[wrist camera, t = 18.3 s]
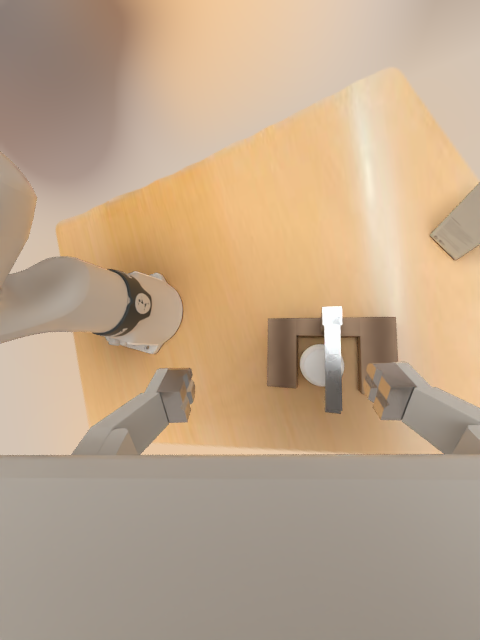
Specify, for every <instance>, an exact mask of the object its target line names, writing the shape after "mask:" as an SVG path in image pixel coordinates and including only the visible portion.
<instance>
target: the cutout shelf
mask: <svg viewBox="0 0 480 640" xmlns="http://www.w3.org/2000/svg"><path fill="white" fill-rule="evenodd" d="M320 320H321V318H279V319H268V369H267V386H273V387H285V388H297V386H298V336H324V333H321V327H320ZM340 336H341V337H357V347H358V379H359V391H360V392H361V393H362V394H365V392H364V388H363V382H364V378H365V377H366V376H367V375H368V373H367V371H366V369H367V366H368V364H369V363H392V362H398V351H397V332H396V317H358V318H342V325H341V326H340Z"/></svg>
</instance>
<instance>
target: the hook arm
mask: <svg viewBox="0 0 480 640" xmlns="http://www.w3.org/2000/svg"><path fill="white" fill-rule="evenodd" d="M341 325H342V307H322V313H321V320H320V327H321V333H324V354H325V412H330V413H339V414H341V411H342V379H341V336H340V326H341Z"/></svg>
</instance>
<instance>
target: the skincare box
mask: <svg viewBox="0 0 480 640" xmlns="http://www.w3.org/2000/svg"><path fill="white" fill-rule="evenodd" d="M430 236H431V237H432V238H433V239H434V240H435V241H436V242H437V243H438V244H439V245H440V246H441V247H442V248H443V249H444V250H445V251H446V252H447V253H448V254H449V255H450V256H451V257H452V258H453V259H455V260H457V259H459V258H460V257H462V256H463V255H464V254H466V253H467V252H469V251H470V250H472V249H473V248H475V247H476V246H478V245H479V244H480V183H479V184H478V185H477V186H476V187H475V188H474V189H473V190H472V191H471V192H470V193H469V194H468V195H467V196H466V197H465V198H464V199H463V200H462V201H461V203H460V204H459V205H458V206H457V207H456V208H455V209H454V210H453V211H452V212H451V213H450V214H449V215H448V216H447V217H446V218H445V219H444V220H443V221H442V222H441V224H440V225H439V226H438V227H437V228H436V229H435V230H434V231H433V232H432V233H431V234H430Z"/></svg>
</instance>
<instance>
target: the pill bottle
mask: <svg viewBox="0 0 480 640" xmlns="http://www.w3.org/2000/svg"><path fill="white" fill-rule="evenodd" d="M300 369H301V372H302V374H303V376H304V377H305V378H306V379H307V380H308V381H309V382H310V383H312V384H314V385H317V386H325V354H324V344H316V345H312V346H310V347H309V348H307V349H306V350H305V351H304V352H303V354H302V356H301V358H300ZM343 372H344V361H343V358H342V356H341V377H342V375H343Z"/></svg>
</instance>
